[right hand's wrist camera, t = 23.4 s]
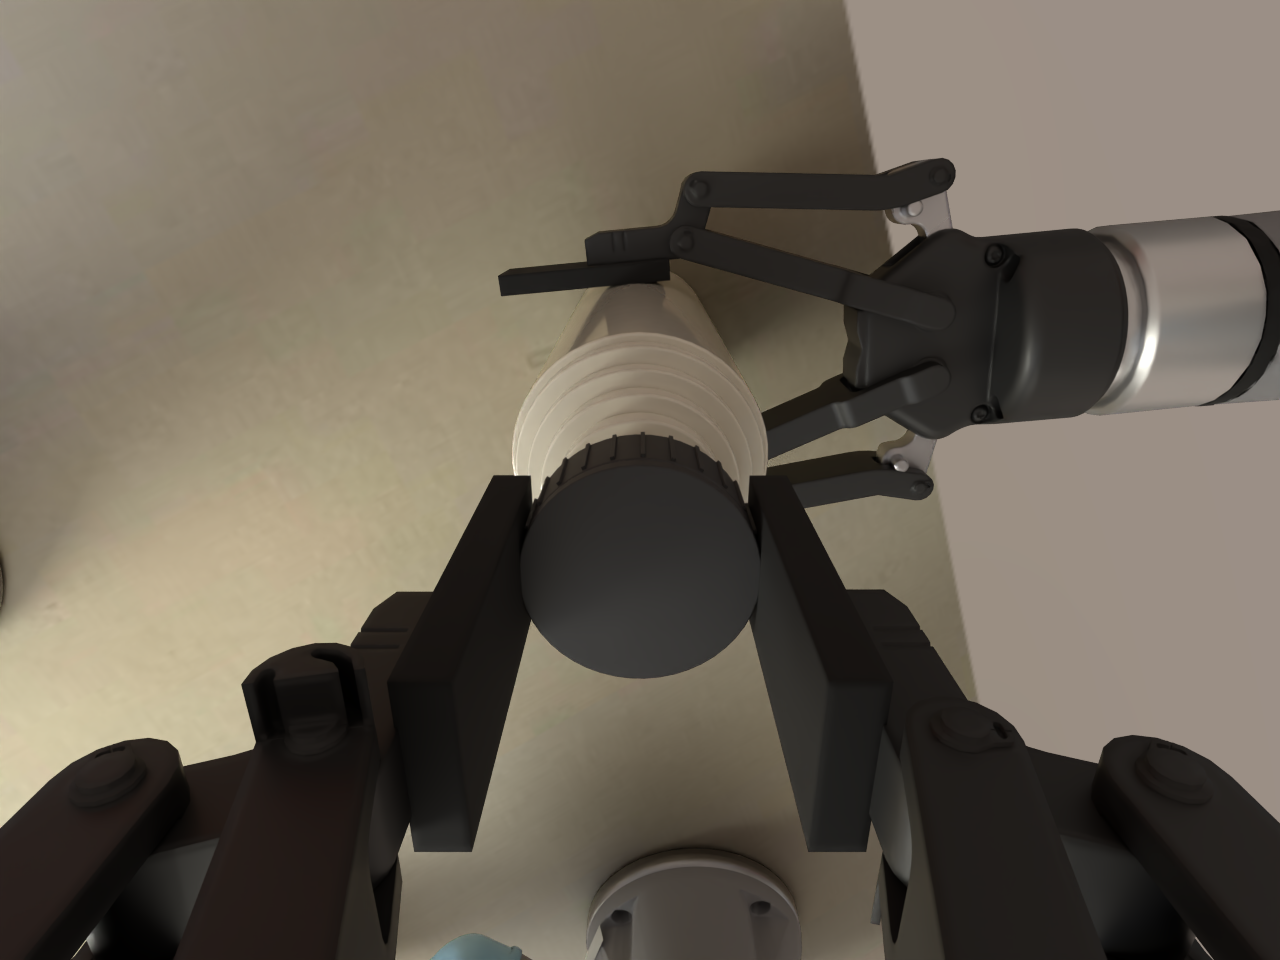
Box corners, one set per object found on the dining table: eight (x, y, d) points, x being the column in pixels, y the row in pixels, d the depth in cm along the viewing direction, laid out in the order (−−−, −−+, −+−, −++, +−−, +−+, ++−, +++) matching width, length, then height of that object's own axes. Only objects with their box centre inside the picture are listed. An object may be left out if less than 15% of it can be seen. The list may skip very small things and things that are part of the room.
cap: (797, 530, 15) (817, 572, 13) (645, 665, 16) (645, 720, 14) (634, 382, 14) (633, 408, 12) (484, 541, 15) (464, 585, 13)
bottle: (626, 234, 34) (601, 310, 12) (734, 320, 36) (891, 530, 13) (546, 346, 36) (397, 590, 14) (652, 423, 38) (670, 754, 16)
